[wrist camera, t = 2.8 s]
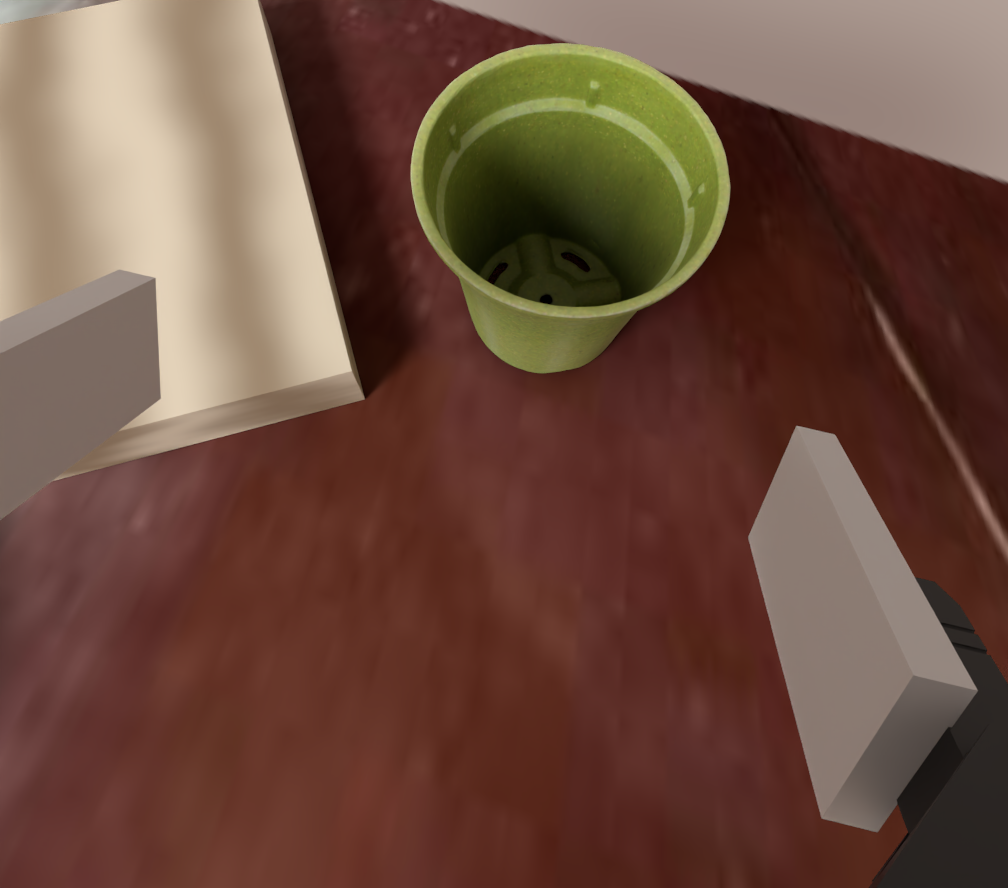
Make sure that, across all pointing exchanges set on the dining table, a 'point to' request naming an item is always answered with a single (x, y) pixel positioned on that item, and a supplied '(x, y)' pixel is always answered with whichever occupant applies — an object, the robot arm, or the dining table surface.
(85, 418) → the robot arm
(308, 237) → the plinth
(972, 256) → the dining table surface
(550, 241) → the plant pot
